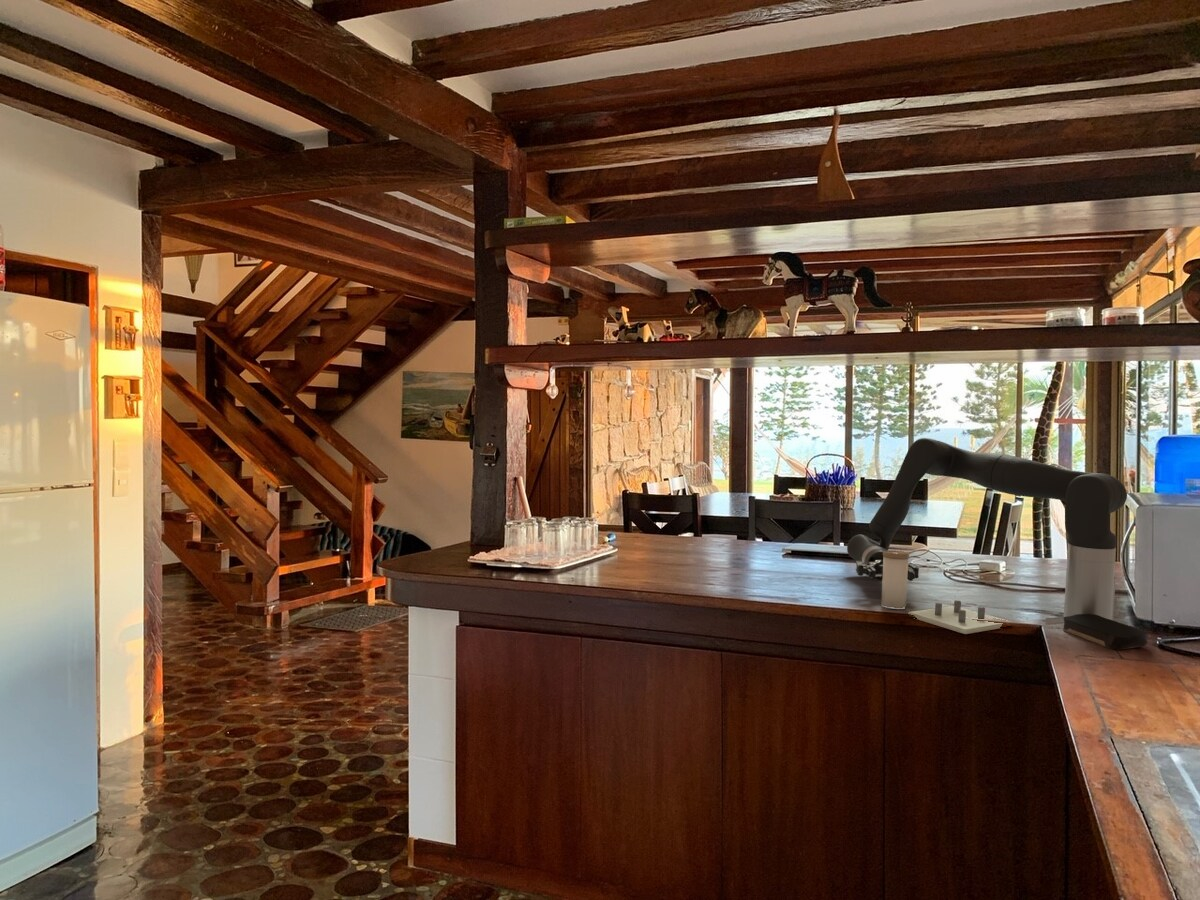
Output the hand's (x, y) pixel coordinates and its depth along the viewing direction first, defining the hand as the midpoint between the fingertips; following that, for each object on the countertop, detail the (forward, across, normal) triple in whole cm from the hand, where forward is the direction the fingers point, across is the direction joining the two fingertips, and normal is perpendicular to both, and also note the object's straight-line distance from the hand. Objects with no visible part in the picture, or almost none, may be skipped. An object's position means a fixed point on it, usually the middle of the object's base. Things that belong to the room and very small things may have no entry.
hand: (892, 575), depth 196 cm
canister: (+3, 0, +7) cm, 7 cm away
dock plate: (+13, +12, +7) cm, 19 cm away
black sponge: (+21, +38, +8) cm, 44 cm away
